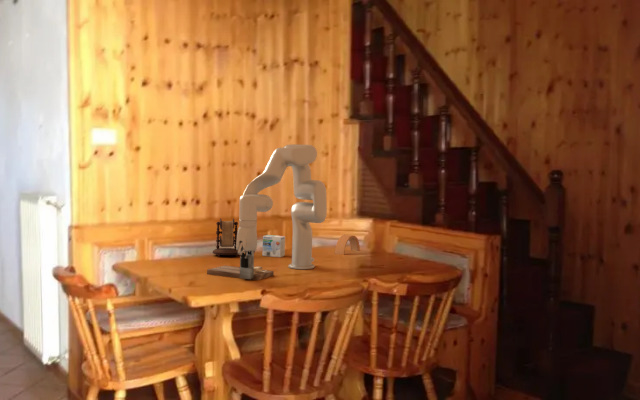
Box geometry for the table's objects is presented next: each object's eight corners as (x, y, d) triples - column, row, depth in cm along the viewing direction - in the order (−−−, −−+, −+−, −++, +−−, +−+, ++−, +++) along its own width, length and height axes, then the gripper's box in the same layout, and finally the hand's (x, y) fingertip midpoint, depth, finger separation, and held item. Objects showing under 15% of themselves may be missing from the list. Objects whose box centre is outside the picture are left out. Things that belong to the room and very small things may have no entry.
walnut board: (224, 269, 309) (224, 265, 309) (273, 275, 298) (273, 270, 297) (207, 274, 296) (207, 269, 296) (257, 280, 285) (257, 275, 285)
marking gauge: (254, 273, 296) (255, 251, 295) (264, 274, 294) (265, 252, 293) (239, 277, 285) (240, 254, 284) (249, 279, 283) (250, 255, 282)
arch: (334, 254, 372) (335, 236, 371) (351, 250, 389) (351, 233, 388) (343, 255, 369) (344, 237, 368) (360, 251, 386) (360, 234, 385)
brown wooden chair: (214, 258, 344) (214, 219, 342) (211, 253, 358) (211, 216, 357) (242, 257, 348) (243, 219, 346) (238, 253, 362) (239, 216, 360)
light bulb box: (261, 256, 356) (262, 235, 355) (266, 254, 362) (267, 234, 361) (280, 257, 353) (281, 237, 352) (285, 255, 359) (285, 235, 358)
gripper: (250, 222, 293) (249, 263, 294) (229, 225, 278) (228, 268, 279) (265, 223, 289) (264, 265, 291) (244, 226, 275) (243, 270, 276)
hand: (246, 266), depth 285 cm, fingers closed on marking gauge, 3 cm apart
